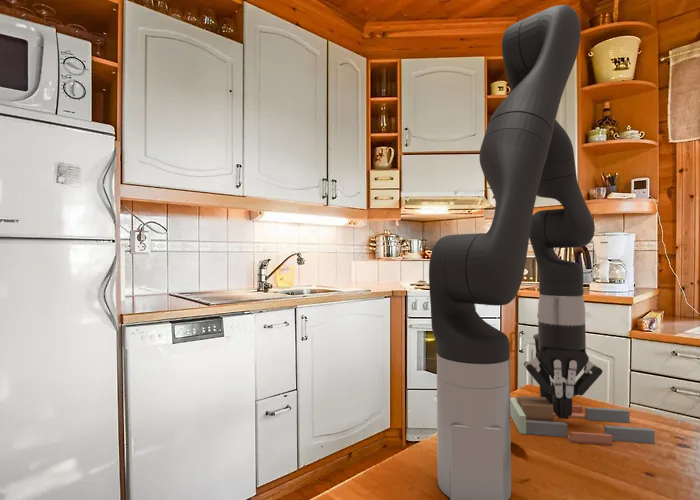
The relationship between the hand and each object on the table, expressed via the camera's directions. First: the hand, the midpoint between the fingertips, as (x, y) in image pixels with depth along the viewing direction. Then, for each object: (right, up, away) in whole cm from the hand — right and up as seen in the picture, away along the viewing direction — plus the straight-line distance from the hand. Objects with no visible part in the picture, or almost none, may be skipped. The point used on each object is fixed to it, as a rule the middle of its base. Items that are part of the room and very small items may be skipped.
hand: (562, 417), depth 73 cm
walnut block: (-5, -2, +1) cm, 5 cm away
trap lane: (+2, -2, -1) cm, 3 cm away
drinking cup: (+4, -2, +11) cm, 12 cm away
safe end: (-8, -2, +1) cm, 8 cm away
